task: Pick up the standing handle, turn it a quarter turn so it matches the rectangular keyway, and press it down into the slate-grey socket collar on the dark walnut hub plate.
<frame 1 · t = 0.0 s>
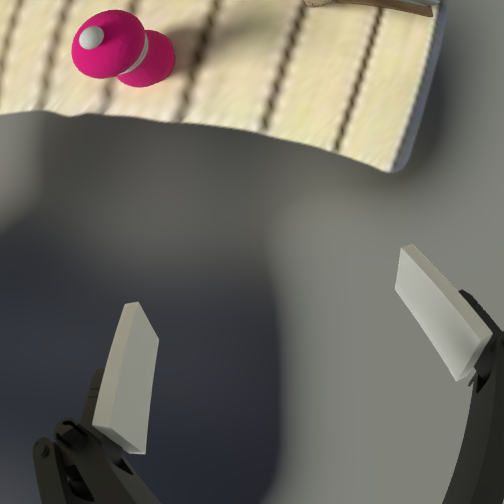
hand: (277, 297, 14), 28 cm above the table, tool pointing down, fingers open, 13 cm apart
pepper mill: (151, 62, 29), on the table
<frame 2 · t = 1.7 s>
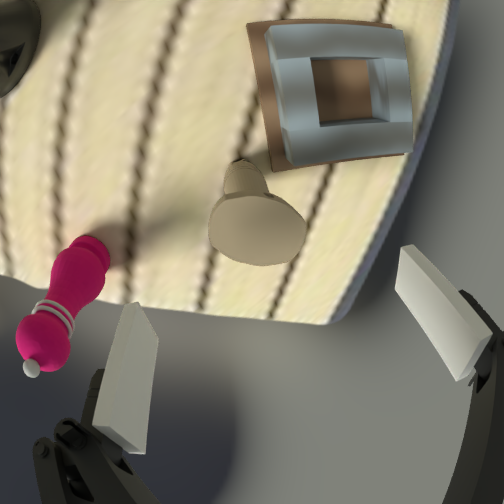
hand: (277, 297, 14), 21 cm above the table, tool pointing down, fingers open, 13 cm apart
pepper mill: (90, 255, 35), on the table
handle: (240, 171, 32), on the table
hub: (334, 89, 27), on the table
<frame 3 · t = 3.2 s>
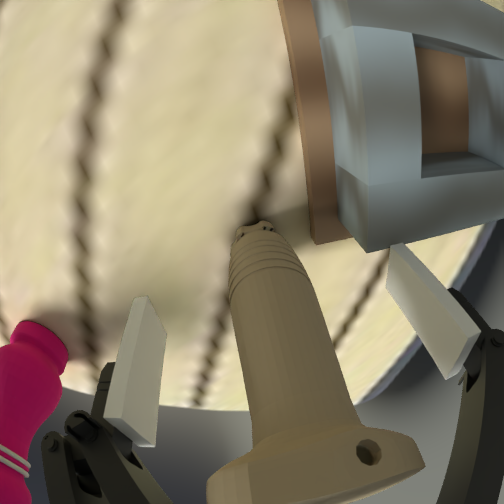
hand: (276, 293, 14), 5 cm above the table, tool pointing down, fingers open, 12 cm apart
pepper mill: (42, 342, 21), on the table
handle: (256, 240, 18), on the table
hub: (419, 99, 14), on the table
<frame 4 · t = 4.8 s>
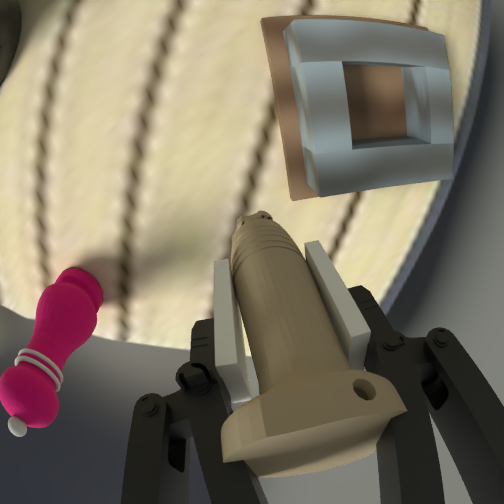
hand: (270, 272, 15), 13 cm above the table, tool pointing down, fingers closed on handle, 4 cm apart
pepper mill: (81, 288, 30), on the table
handle: (255, 229, 20), point 8 cm above the table, touching gripper
hub: (365, 101, 23), on the table
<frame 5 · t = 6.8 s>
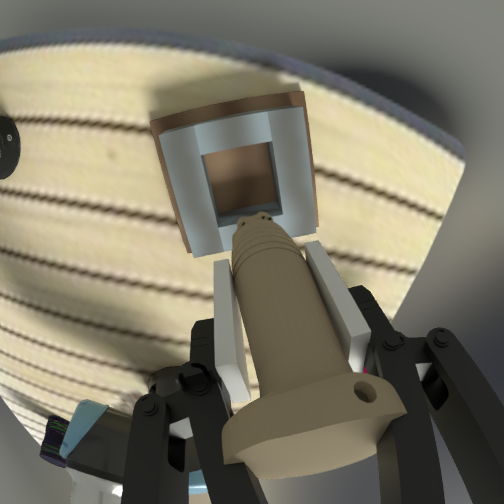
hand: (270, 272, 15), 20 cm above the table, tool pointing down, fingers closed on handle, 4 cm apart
handle: (255, 230, 20), point 15 cm above the table, touching gripper
storage jar: (62, 422, 63), on the table
hub: (240, 172, 33), on the table
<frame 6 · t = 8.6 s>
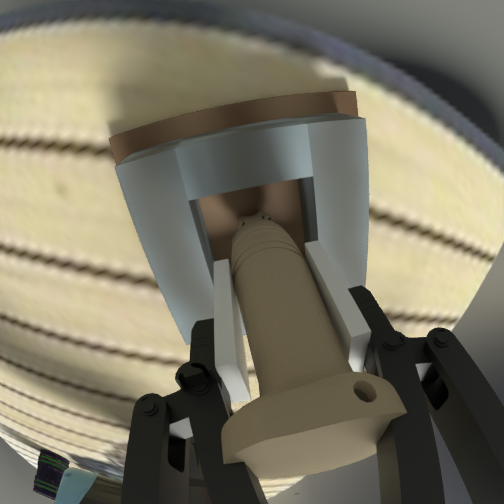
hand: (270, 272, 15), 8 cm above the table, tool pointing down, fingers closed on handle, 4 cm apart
handle: (255, 229, 20), point 2 cm above the table, touching gripper
storage jar: (55, 455, 52), on the table
hub: (253, 216, 22), on the table
when the fingers open (6 cm above the table, at t = 9.1 s): handle stays where it is, resting on hub.
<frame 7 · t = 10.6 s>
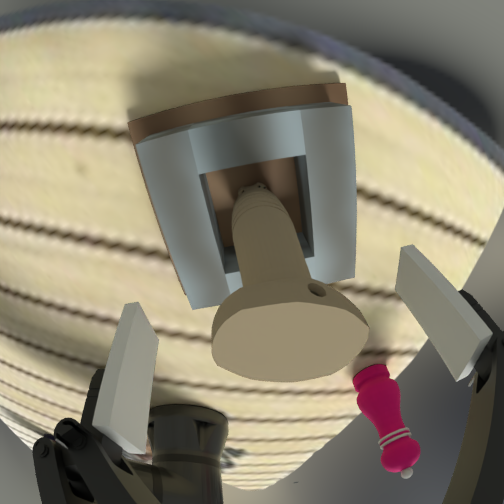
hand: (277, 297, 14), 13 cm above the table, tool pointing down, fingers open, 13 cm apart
pepper mill: (369, 374, 42), on the table
handle: (253, 198, 24), point 1 cm above the table, touching hub
hub: (254, 193, 24), on the table
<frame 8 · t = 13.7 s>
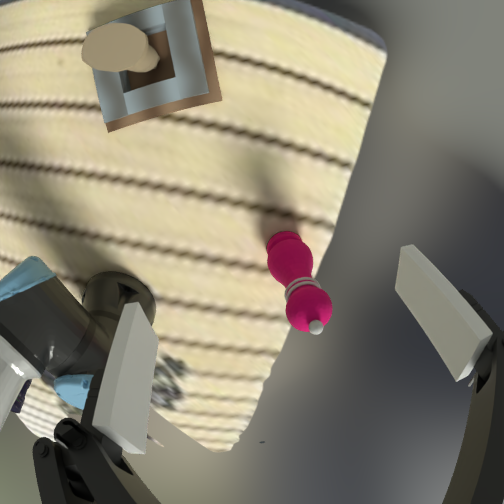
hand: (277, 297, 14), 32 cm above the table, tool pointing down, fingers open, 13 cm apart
pepper mill: (284, 246, 50), on the table
handle: (149, 61, 31), point 1 cm above the table, touching hub
storage jar: (21, 366, 62), on the table
hub: (151, 61, 32), on the table
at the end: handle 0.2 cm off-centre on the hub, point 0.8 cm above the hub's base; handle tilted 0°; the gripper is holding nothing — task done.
